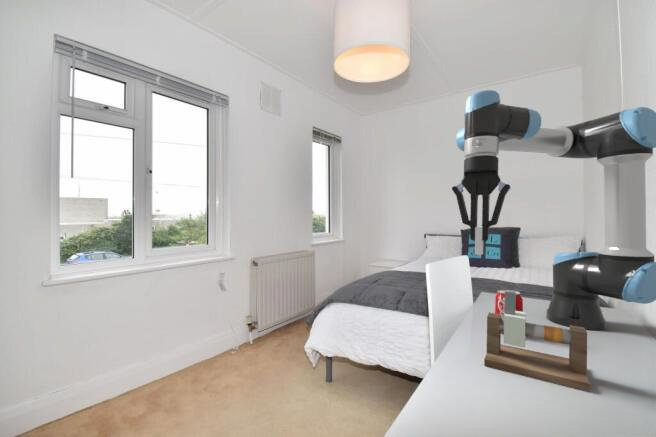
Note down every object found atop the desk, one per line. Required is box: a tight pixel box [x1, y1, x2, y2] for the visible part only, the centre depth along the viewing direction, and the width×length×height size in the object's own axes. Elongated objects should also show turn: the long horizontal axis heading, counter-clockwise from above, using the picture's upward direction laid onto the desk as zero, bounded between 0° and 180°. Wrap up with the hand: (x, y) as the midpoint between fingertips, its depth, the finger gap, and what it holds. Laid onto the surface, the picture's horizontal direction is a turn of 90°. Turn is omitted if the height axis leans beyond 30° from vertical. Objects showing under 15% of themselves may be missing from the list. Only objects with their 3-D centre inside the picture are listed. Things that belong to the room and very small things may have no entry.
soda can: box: [494, 289, 524, 335], centre depth 90 cm, size 7×7×12 cm
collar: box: [503, 289, 527, 349], centre depth 71 cm, size 6×4×11 cm, turn 146°
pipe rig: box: [483, 312, 591, 393], centre depth 69 cm, size 12×18×10 cm, turn 56°
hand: (478, 254), depth 75 cm, fingers closed
